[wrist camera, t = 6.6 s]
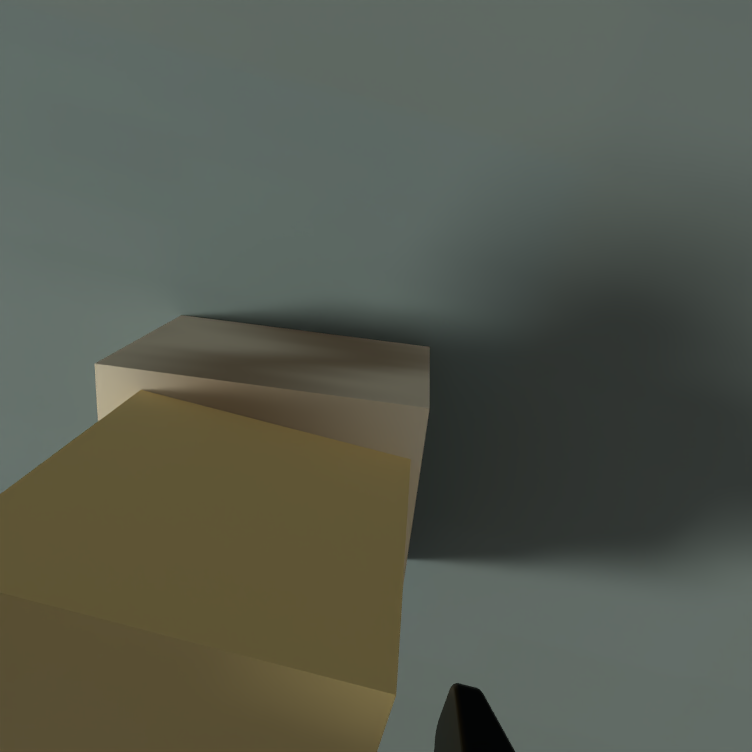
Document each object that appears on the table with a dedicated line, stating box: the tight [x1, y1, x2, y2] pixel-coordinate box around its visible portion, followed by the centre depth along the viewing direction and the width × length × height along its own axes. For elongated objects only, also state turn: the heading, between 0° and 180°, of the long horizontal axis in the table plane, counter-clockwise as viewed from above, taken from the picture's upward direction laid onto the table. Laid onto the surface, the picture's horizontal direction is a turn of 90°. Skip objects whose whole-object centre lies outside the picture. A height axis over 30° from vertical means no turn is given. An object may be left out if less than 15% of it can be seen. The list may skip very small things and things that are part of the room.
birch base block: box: [95, 315, 430, 582], centre depth 13 cm, size 6×6×4 cm
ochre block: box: [0, 390, 411, 752], centre depth 9 cm, size 5×5×5 cm
